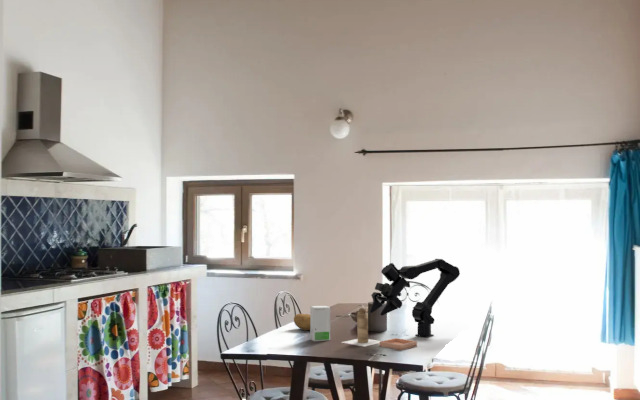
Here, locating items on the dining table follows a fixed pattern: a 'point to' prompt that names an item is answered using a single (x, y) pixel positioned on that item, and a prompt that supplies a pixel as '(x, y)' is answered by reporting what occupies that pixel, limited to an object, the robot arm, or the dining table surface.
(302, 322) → the potato
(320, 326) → the skincare box
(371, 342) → the felt mat
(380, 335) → the dining table surface
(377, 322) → the pillar candle
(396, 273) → the robot arm
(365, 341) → the pepper mill
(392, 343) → the terracotta dish
